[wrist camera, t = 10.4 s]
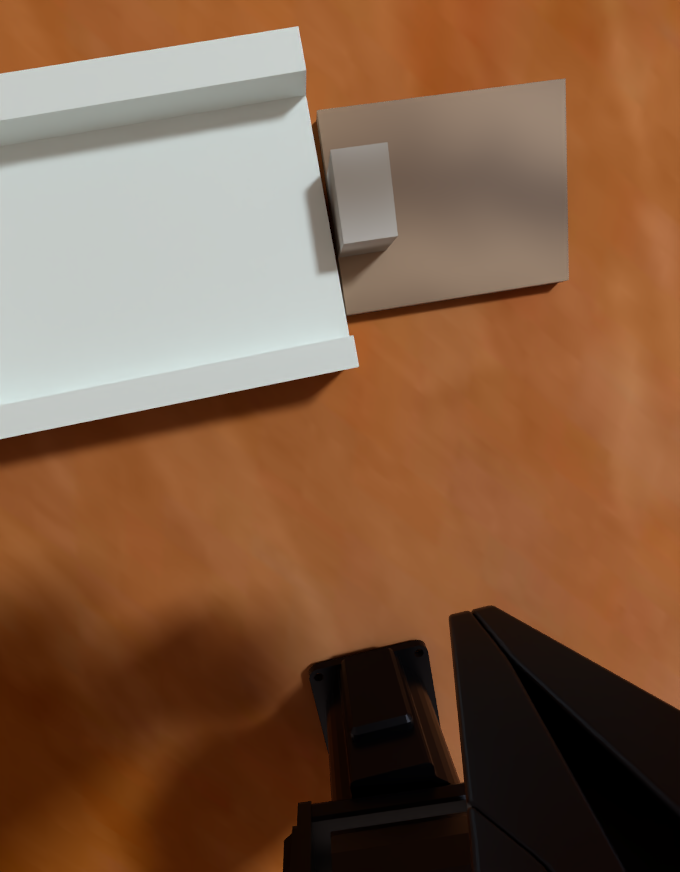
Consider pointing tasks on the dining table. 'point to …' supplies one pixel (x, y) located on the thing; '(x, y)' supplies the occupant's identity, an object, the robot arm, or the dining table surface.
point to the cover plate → (447, 194)
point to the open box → (162, 232)
